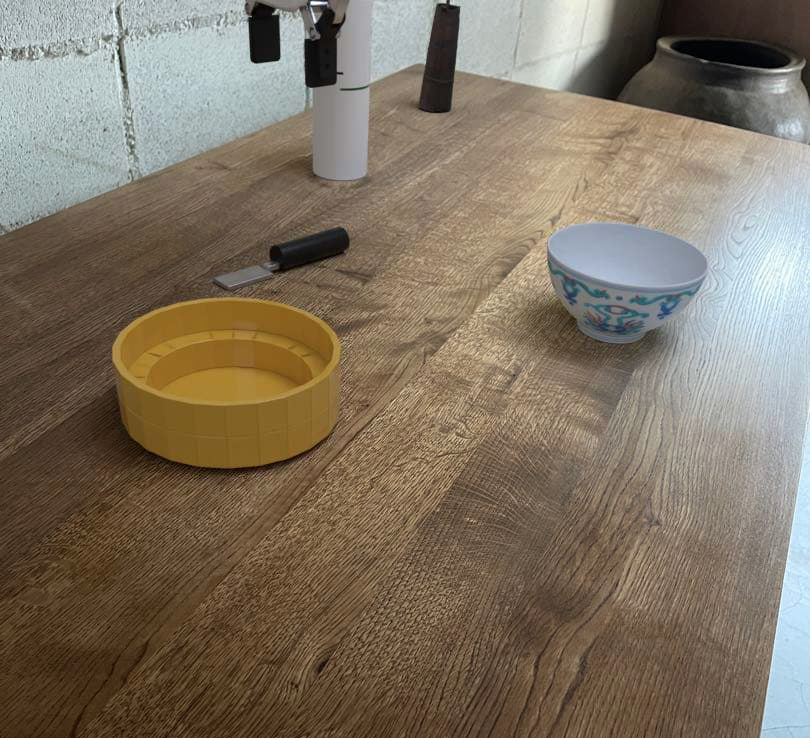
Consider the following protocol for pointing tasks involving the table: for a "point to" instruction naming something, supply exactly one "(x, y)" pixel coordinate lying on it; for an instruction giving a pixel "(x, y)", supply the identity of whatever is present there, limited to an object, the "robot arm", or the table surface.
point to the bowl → (228, 381)
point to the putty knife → (289, 257)
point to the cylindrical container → (345, 101)
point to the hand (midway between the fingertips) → (292, 73)
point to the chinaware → (623, 277)
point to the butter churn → (441, 59)
